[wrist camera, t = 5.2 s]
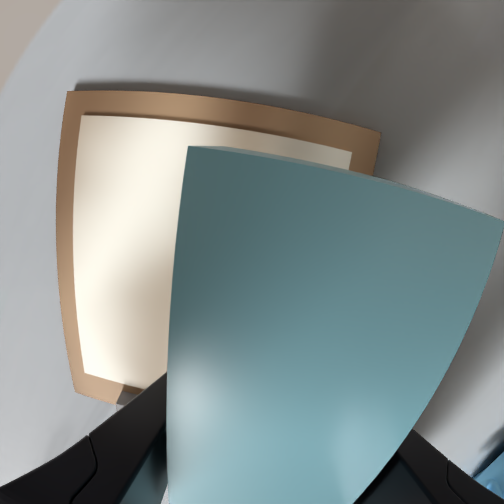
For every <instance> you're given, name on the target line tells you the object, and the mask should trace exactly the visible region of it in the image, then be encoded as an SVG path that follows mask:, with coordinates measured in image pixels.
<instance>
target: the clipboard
mask: <svg viewBox="0 0 504 504" xmlns="http://www.w3.org/2000/svg"><path fill="white" fill-rule="evenodd" d="M380 136H381V132H377V131H374V130H371V129H367V128H364V127H360V126H357V125H353V124H349V123H345V122H341V121H338V120H334V119H329V118H325V117H321V116H317V115H312V114H308V113H303V112H299V111H294V110H289V109H284V108H279V107H273V106H268V105H262V104H256V103H250V102H243V101H237V100H230V99H222V98H214V97H206V96H196V95H186V94H175V93H161V92H143V91H67V96H66V102H65V108H64V115H63V122H62V130H61V139H60V148H59V160H58V174H57V194H56V249H57V269H58V283H59V295H60V305H61V313H62V321H63V329H64V336H65V342H66V348H67V354H68V360H69V365H70V370H71V375H72V380H73V385H74V389H75V392H76V393H79V394H82V395H85V396H88V397H91V398H95V399H98V400H101V401H104V402H108V403H111V404H115V405H116V409H117V411H119V410H120V409H121V408H122V407H124V406H125V405H126V404H127V403H129V402H130V401H131V400H132V399H134V398H135V397H136V396H137V395H139V394H140V393H141V392H142V391H143V390H145V389H146V388H147V387H148V386H150V385H151V384H152V383H153V382H155V381H156V380H157V379H158V378H159V377H161V376H162V375H163V374H164V373H166V372H167V361H168V337H169V319H170V303H171V289H172V276H173V265H174V254H175V243H176V234H177V225H178V216H179V207H180V199H181V191H182V183H183V176H184V169H185V162H186V155H187V149H188V146H226V147H233V148H239V149H246V150H252V151H258V152H263V153H269V154H275V155H280V156H285V157H290V158H295V159H300V160H305V161H310V162H315V163H319V164H324V165H329V166H333V167H337V168H342V169H346V170H350V171H354V172H358V173H362V174H366V175H370V176H373V172H374V167H375V162H376V157H377V152H378V147H379V142H380Z"/></svg>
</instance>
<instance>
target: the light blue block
mask: <svg viewBox="0 0 504 504" xmlns="http://www.w3.org/2000/svg"><path fill="white" fill-rule="evenodd" d="M503 229H504V221H502V220H500V219H498V218H495V217H493V216H490V215H488V214H485V213H483V212H480V211H477V210H475V209H472V208H470V207H467V206H464V205H462V204H459V203H456V202H453V201H451V200H448V199H445V198H442V197H439V196H436V195H433V194H430V193H427V192H424V191H421V190H418V189H415V188H412V187H409V186H406V185H403V184H400V183H396V182H393V181H389V180H386V179H382V178H378V177H374V176H370V175H366V174H362V173H358V172H354V171H350V170H346V169H342V168H337V167H333V166H329V165H324V164H319V163H315V162H310V161H305V160H300V159H295V158H290V157H285V156H280V155H275V154H269V153H263V152H258V151H252V150H246V149H239V148H233V147H226V146H188V149H187V155H186V162H185V169H184V176H183V183H182V191H181V199H180V207H179V216H178V225H177V234H176V243H175V254H174V265H173V276H172V289H171V303H170V319H169V337H168V361H167V407H166V431H167V475H168V497H169V504H353V503H354V502H355V501H356V499H357V498H358V497H359V496H360V495H361V494H362V493H363V492H364V490H365V489H366V488H367V487H368V486H369V485H370V483H371V482H372V481H373V480H374V479H375V477H376V476H377V475H378V474H379V472H380V471H381V470H382V469H383V467H384V466H385V465H386V464H387V462H388V461H389V460H390V458H391V457H392V456H393V454H394V453H395V452H396V450H397V449H398V448H399V446H400V445H401V443H402V442H403V441H404V439H405V438H406V436H407V435H408V433H409V432H410V431H411V429H412V428H413V426H414V425H415V423H416V422H417V420H418V419H419V417H420V415H421V414H422V412H423V411H424V409H425V408H426V406H427V404H428V403H429V401H430V399H431V398H432V396H433V394H434V393H435V391H436V389H437V387H438V386H439V384H440V382H441V380H442V379H443V377H444V375H445V373H446V371H447V369H448V368H449V366H450V364H451V362H452V360H453V358H454V356H455V354H456V352H457V350H458V348H459V346H460V344H461V342H462V340H463V338H464V335H465V333H466V331H467V329H468V327H469V324H470V322H471V320H472V318H473V315H474V313H475V311H476V308H477V306H478V303H479V301H480V298H481V296H482V293H483V290H484V288H485V285H486V282H487V280H488V277H489V274H490V271H491V268H492V265H493V262H494V259H495V256H496V253H497V250H498V246H499V243H500V240H501V236H502V233H503Z"/></svg>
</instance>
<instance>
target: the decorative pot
mask: <svg viewBox="0 0 504 504" xmlns="http://www.w3.org/2000/svg"><path fill="white" fill-rule="evenodd" d="M473 479H474V480H476V481H477V482H478V483H480V484H481V485H483V486H484V487H486V488H487V489H489V490H490V491H492V492H493V493H495V494H496V495H498V496H500V497H501V498H503V499H504V452H503V453H502V454H501V455H500V456H499V457H498V458H497V459H496V460H494V461H493V462H492V463H491V464H490V465H489V466H488V467H487V468H486V469H485V470H483V471H481V472H480V473H478V474H477V475H476V476H475V477H473Z"/></svg>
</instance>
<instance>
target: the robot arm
mask: <svg viewBox="0 0 504 504" xmlns="http://www.w3.org/2000/svg"><path fill="white" fill-rule="evenodd" d="M166 407H167V372H166V373H164V374H163V375H162V376H161V377H159V378H158V379H157V380H156V381H155V382H153V383H152V384H151V385H150V386H148V387H147V388H146V389H145V390H143V391H142V392H141V393H140V394H139V395H137V396H136V397H135V398H134V399H132V400H131V401H130V402H129V403H127V404H126V405H125V406H124V407H122V408H121V409H120V410H119V411H117V412H116V413H115V414H113V415H112V416H111V417H110V418H108V419H107V420H106V421H105V422H103V423H102V424H101V425H99V426H98V427H97V428H96V429H94V430H93V431H92V432H90V433H89V436H88V435H86V436H85V437H84V438H82V439H81V440H80V441H79V442H77V443H76V444H74V445H73V446H72V447H70V448H69V449H67V450H66V451H65V452H63V453H62V454H60V455H59V456H57V457H55V458H54V459H52V460H50V461H49V462H47V463H45V464H43V465H42V466H40V467H38V468H36V469H34V470H32V471H30V472H29V473H27V474H25V475H23V476H21V477H19V478H17V479H15V480H13V481H11V482H9V483H7V484H5V485H3V486H1V487H0V504H161V501H162V498H163V495H164V492H165V490H166V487H167V484H168V475H167V431H166ZM353 504H504V499H503V498H501V497H500V496H498V495H496V494H495V493H493V492H492V491H490V490H489V489H487V488H486V487H484V486H483V485H481V484H480V483H478V482H477V481H476V480H474V479H473V478H471V477H470V476H469V475H467V474H466V473H465V472H464V471H462V470H461V469H460V468H459V467H457V466H456V465H455V464H454V463H453V462H451V461H450V460H448V458H446V457H445V456H444V455H443V454H442V453H441V452H439V451H438V450H437V449H436V448H435V447H433V446H432V445H431V444H430V443H429V442H428V441H426V440H425V439H424V438H423V437H422V436H420V435H419V434H418V433H417V432H416V431H415V430H413V429H411V431H410V432H409V433H408V435H407V436H406V438H405V439H404V441H403V442H402V443H401V445H400V446H399V448H398V449H397V450H396V452H395V453H394V454H393V456H392V457H391V458H390V460H389V461H388V462H387V464H386V465H385V466H384V467H383V469H382V470H381V471H380V472H379V474H378V475H377V476H376V477H375V479H374V480H373V481H372V482H371V483H370V485H369V486H368V487H367V488H366V489H365V490H364V492H363V493H362V494H361V495H360V496H359V497H358V498H357V499H356V501H355V502H354V503H353Z"/></svg>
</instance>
